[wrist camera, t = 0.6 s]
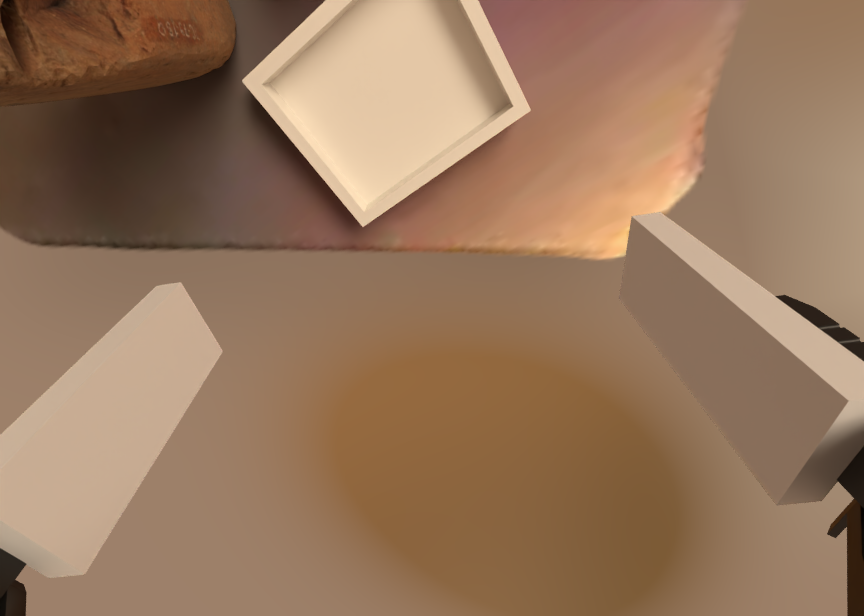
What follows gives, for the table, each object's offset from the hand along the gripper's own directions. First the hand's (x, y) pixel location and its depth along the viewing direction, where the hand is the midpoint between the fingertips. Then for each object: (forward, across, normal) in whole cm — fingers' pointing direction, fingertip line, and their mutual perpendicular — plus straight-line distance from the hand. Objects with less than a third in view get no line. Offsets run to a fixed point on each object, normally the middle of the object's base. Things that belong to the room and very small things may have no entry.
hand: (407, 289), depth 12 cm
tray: (+27, -1, +3) cm, 27 cm away
